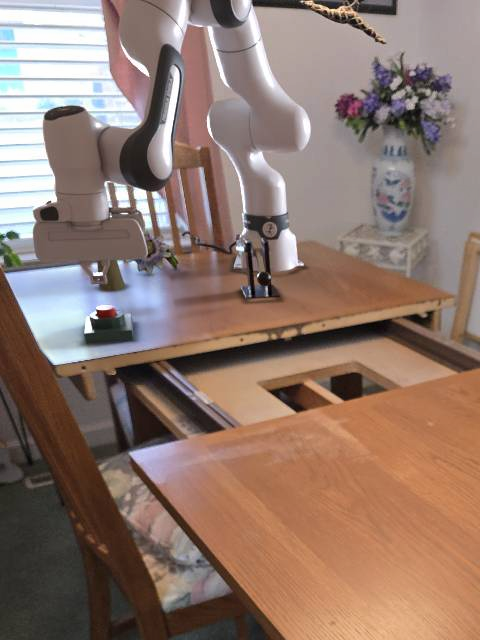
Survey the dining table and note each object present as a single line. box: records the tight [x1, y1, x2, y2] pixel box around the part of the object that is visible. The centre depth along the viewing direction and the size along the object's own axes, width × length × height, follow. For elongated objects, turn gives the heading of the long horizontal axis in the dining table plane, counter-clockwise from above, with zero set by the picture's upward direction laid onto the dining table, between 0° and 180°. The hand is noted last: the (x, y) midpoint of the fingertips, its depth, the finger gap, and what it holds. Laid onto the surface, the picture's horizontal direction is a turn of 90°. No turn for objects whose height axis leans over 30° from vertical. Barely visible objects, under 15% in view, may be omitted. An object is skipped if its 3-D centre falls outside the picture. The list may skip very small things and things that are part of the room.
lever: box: [251, 240, 272, 286], centre depth 162 cm, size 13×3×3 cm, turn 19°
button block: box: [83, 309, 135, 345], centre depth 145 cm, size 11×9×4 cm
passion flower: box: [123, 228, 179, 276], centre depth 184 cm, size 11×11×12 cm
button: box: [95, 304, 116, 318], centre depth 144 cm, size 4×4×2 cm
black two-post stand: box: [240, 238, 281, 300], centre depth 167 cm, size 10×8×13 cm
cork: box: [96, 260, 126, 292], centre depth 169 cm, size 6×6×11 cm
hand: (99, 283), depth 140 cm, fingers closed
